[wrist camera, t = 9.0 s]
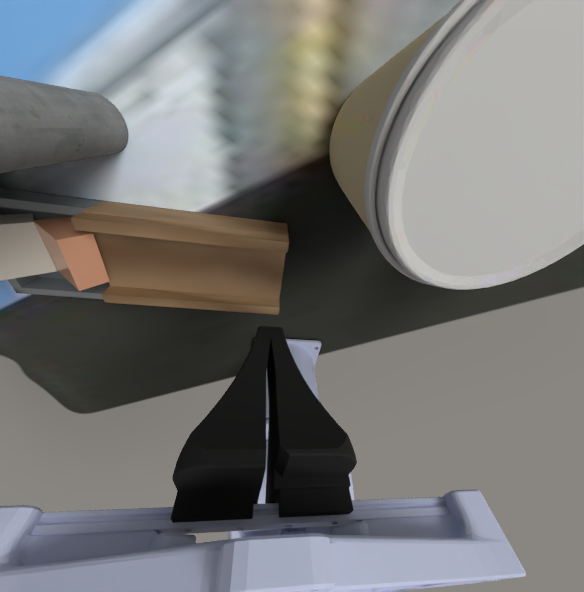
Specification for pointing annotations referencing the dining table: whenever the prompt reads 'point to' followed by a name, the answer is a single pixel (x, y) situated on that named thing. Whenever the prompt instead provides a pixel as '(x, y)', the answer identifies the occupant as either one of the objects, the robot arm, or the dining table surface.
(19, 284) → the tray
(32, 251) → the tile
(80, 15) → the dining table surface
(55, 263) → the tile
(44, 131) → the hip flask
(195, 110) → the dining table surface
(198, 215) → the board
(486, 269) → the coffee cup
